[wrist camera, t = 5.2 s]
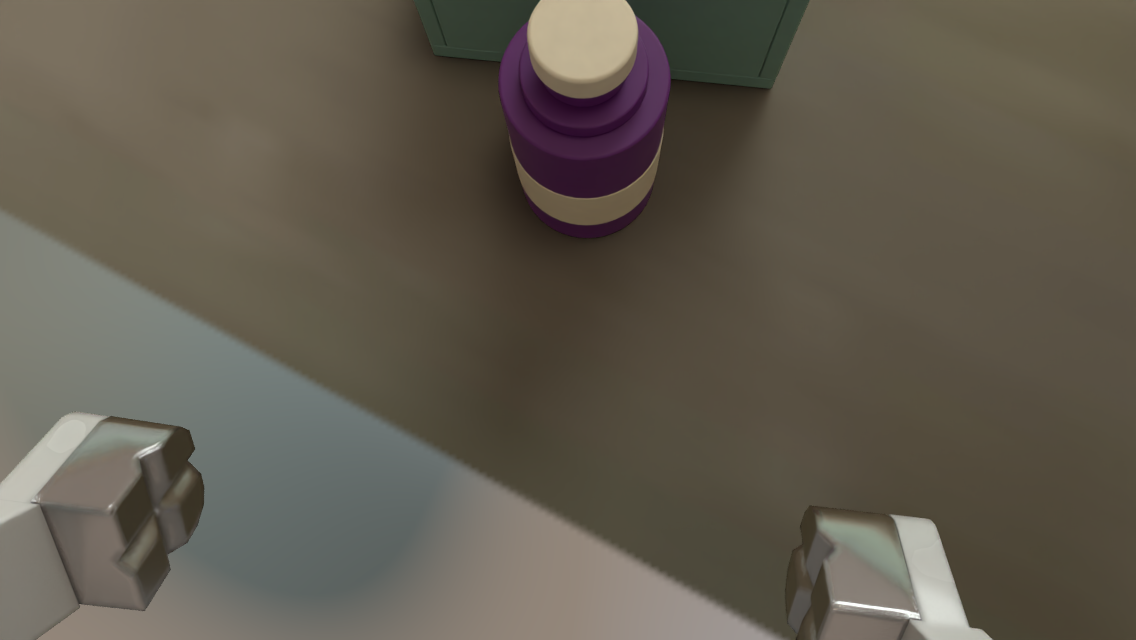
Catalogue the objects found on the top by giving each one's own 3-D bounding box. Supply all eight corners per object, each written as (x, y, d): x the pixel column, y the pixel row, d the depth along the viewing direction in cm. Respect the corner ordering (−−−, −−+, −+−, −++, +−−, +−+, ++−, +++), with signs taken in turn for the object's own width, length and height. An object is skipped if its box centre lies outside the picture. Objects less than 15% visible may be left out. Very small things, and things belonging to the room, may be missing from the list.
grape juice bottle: (661, 119, 25) (690, -49, 17) (647, 246, 24) (670, 131, 16) (530, 106, 25) (499, -67, 17) (512, 232, 25) (471, 111, 17)
